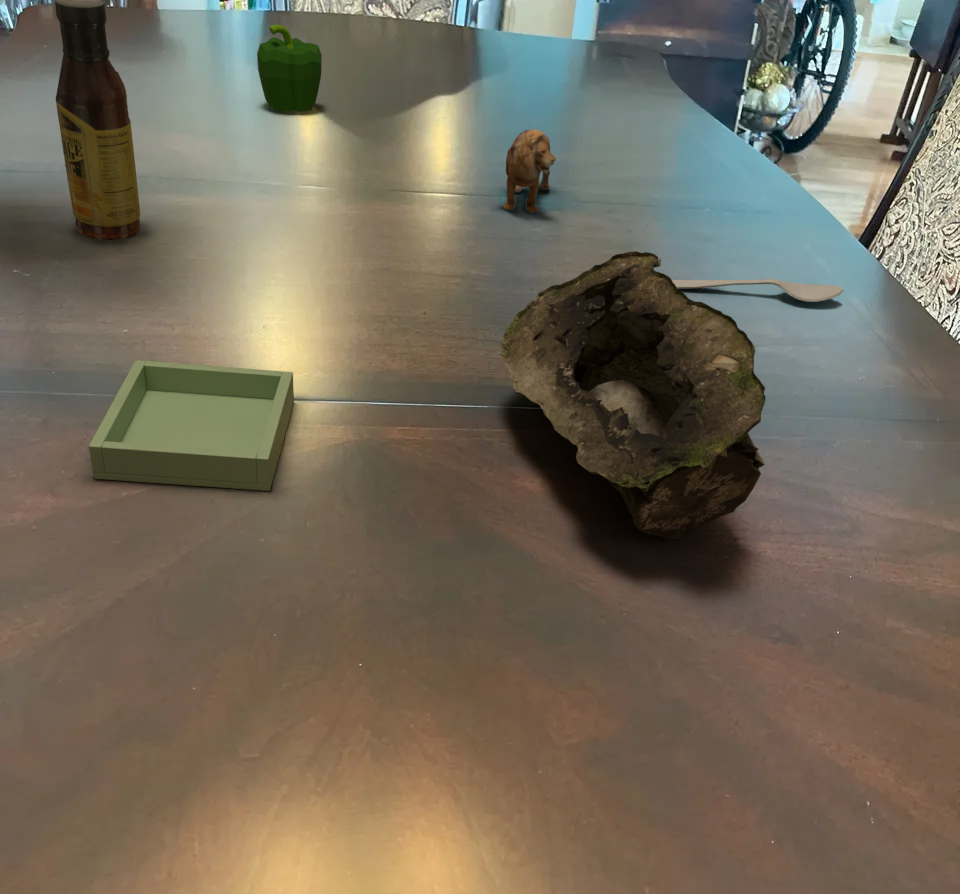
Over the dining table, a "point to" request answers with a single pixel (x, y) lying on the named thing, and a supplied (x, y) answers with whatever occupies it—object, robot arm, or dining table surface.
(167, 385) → the green tray
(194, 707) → the dining table surface
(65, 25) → the sauce bottle
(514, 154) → the lion figurine
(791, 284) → the spoon
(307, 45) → the bell pepper
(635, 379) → the brown hollow wooden log
